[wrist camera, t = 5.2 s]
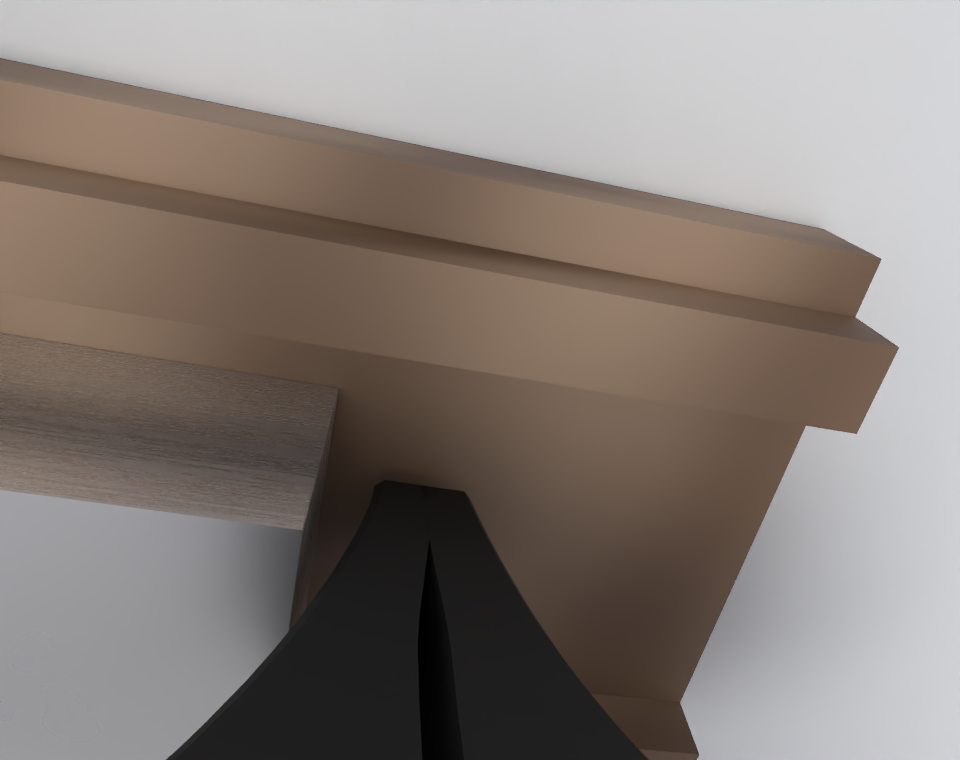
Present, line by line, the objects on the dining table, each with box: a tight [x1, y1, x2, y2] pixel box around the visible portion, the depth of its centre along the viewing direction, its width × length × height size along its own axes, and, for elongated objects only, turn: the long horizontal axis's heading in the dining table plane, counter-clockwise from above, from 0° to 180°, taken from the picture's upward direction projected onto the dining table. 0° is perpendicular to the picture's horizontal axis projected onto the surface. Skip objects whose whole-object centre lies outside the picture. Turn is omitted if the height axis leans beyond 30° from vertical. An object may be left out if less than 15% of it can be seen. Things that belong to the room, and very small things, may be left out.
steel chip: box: [0, 333, 339, 760], centre depth 9 cm, size 4×4×3 cm
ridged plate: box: [0, 58, 899, 760], centre depth 11 cm, size 13×10×2 cm
